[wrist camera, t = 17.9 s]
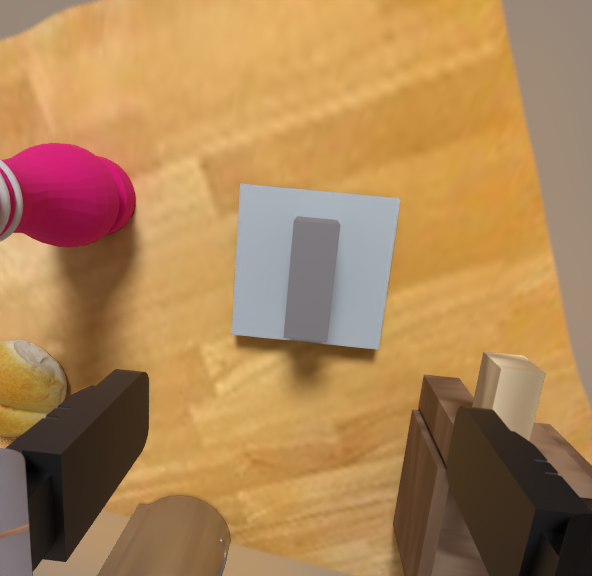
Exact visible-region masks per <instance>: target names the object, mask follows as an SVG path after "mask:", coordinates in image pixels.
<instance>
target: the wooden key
mask: <svg viewBox="0 0 592 576" xmlns="http://www.w3.org/2000/svg"><path fill="white" fill-rule="evenodd" d="M545 374H546V373H545V372H544V371H542V370H541V369H540V368H539V367H537V366H536V365H535V364H533V363H532V362H531V361H530V360H528V359H527V358H526V357H525V356H522V355H512V354H502V353H492V352H483V357H482V361H481V366H480V371H479V376H478V381H477V386H476V391H475V396H474V401H473V406H472V407H477V408H486V409H492V410H494V411H495V412H496V413H497V415H498V416H499V417H500V418H501V420H502V421H503V422H504V423H505V424H506V426H507V427H508V428H509V429H510V431H515V432H516V433H518V434H519V435H521V436H522V437H524V438H525V439H527V440H528V441H529V440H530V436H531V432H532V428H533V424H534V420H535V415H536V411H537V407H538V403H539V399H540V395H541V391H542V387H543V383H544V378H545Z"/></svg>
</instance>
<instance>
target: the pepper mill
mask: <svg viewBox="0 0 592 576" xmlns="http://www.w3.org/2000/svg"><path fill="white" fill-rule="evenodd" d="M134 206H135V193H134V189H133V186H132V183H131V181H130V179H129V177H128V176H127V174H126V173H125V172H124V170H123V169H122V168H121V167H120V166H118V165H117V164H115V163H114V162H112V161H111V160H108V159H106V158H103V157H99V156H95V155H94V154H92V153H91V152H89V151H88V150H86V149H83V148H81V147H78V146H75V145H71V144H60V143H48V144H41V145H37V146H34V147H30V148H28V149H25V150H24V151H22V152H20V153H18V154H17V155H15V156H13V157H12V158H9V159H5V160H1V159H0V241H3V240H4V239H6V238H7V237H9V236H10V235H11V234H12V233H24V234H26V235H28V236H30V237H31V238H33V239H35V240H38V241H40V242H42V243H46V244H50V245H54V246H58V247H77V246H84V245H88V244H90V243H93V242H95V241H97V240H99V239H100V238H102V237H103V236H104V235H106V234H110V233H114V232H116V231H118V230H119V229H121V228H122V227H123V226H125V225H126V223H127V222H128V221H129V219H130V218H131V216H132V213H133V210H134Z"/></svg>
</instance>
